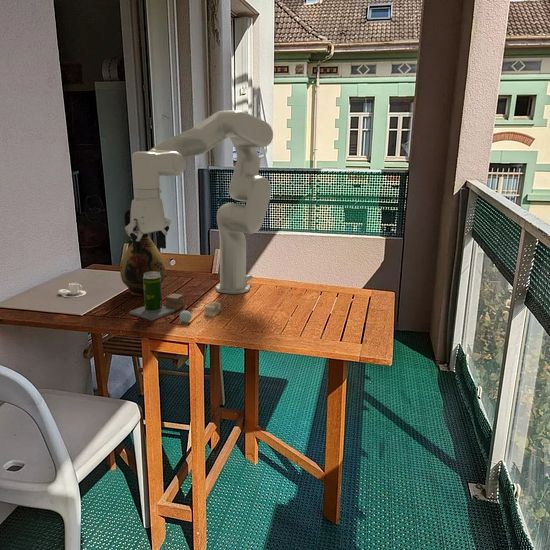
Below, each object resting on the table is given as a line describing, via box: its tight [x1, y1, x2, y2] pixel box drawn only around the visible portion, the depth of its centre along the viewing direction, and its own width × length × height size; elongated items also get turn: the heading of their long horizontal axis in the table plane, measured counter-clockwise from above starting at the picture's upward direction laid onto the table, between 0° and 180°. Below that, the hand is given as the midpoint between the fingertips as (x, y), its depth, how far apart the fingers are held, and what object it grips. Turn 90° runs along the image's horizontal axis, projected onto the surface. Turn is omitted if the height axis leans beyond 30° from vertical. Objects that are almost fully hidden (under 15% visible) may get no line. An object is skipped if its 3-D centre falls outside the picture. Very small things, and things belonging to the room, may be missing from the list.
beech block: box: [204, 301, 222, 317], centre depth 155 cm, size 5×3×3 cm, turn 160°
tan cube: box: [165, 293, 185, 311], centre depth 159 cm, size 4×4×4 cm
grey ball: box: [178, 310, 192, 323], centre depth 147 cm, size 4×4×4 cm
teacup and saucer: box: [57, 282, 87, 298], centre depth 171 cm, size 9×8×4 cm
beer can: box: [143, 271, 163, 313], centre depth 153 cm, size 5×5×12 cm
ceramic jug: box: [119, 207, 166, 297], centre depth 171 cm, size 17×15×30 cm
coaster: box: [128, 305, 176, 321], centre depth 154 cm, size 10×10×1 cm
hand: (150, 250), depth 149 cm, fingers open, 9 cm apart
